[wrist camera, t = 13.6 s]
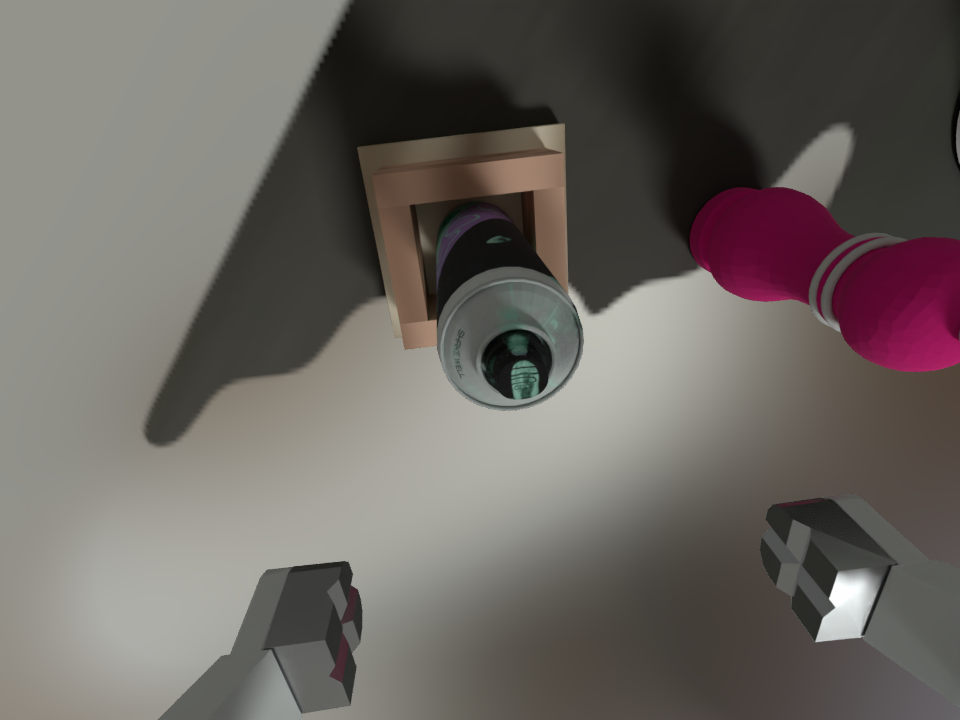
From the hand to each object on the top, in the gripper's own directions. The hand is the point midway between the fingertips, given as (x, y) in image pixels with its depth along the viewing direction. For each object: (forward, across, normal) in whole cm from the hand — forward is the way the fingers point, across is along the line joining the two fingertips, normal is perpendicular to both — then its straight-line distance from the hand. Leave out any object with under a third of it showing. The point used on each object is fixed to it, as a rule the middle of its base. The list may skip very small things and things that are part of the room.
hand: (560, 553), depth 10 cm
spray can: (+27, 0, 0) cm, 27 cm away
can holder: (+28, 0, 0) cm, 28 cm away
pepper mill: (+29, -19, +2) cm, 34 cm away
